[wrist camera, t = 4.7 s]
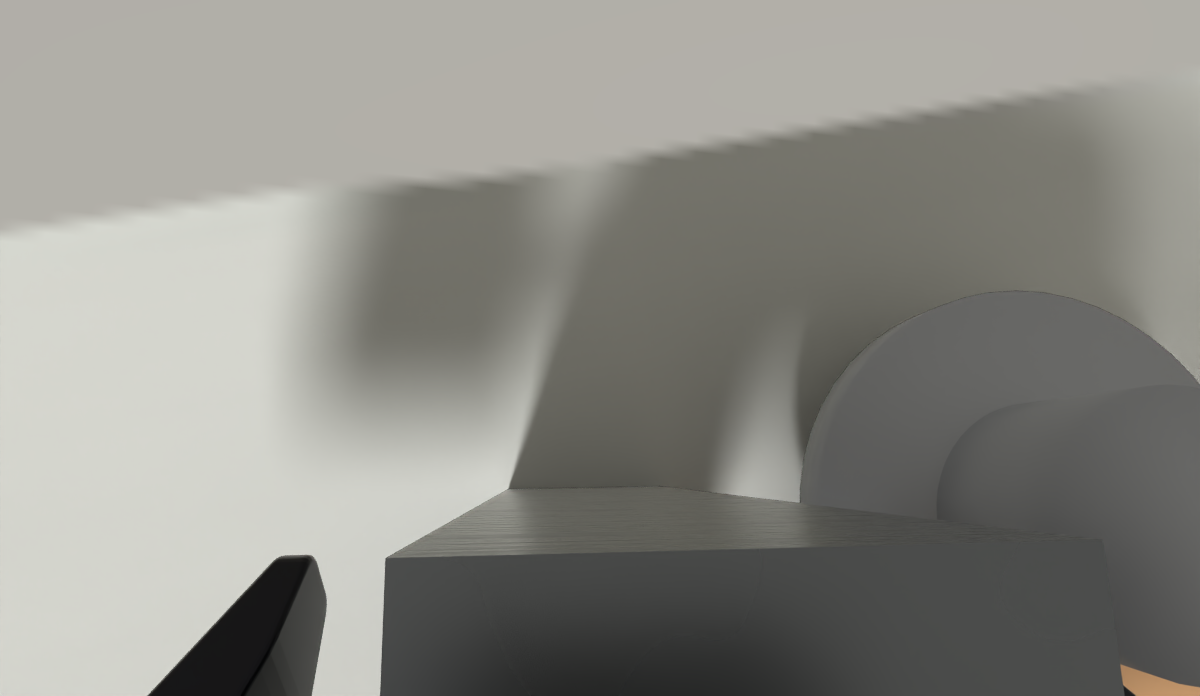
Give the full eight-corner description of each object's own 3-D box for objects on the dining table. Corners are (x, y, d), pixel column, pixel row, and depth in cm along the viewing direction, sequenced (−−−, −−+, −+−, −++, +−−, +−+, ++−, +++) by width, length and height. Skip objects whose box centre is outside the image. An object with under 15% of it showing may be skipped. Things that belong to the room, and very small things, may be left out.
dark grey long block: (668, 697, 15) (1270, 1748, 3) (505, 704, 15) (332, 1931, 2) (662, 486, 16) (1101, 539, 3) (508, 488, 15) (386, 558, 3)
